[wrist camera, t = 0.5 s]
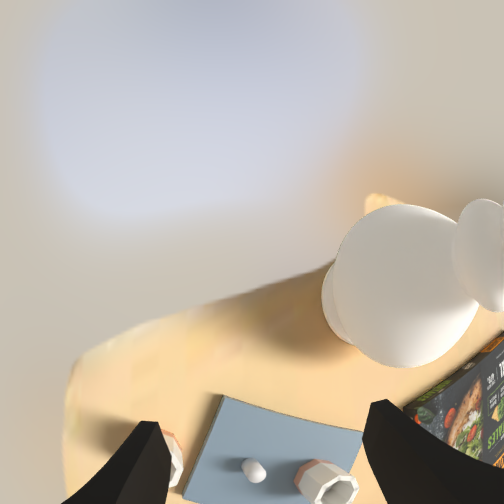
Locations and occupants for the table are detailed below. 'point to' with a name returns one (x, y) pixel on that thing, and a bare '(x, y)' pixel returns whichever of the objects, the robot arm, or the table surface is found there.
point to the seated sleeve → (325, 483)
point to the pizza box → (468, 407)
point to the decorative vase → (415, 280)
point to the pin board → (263, 455)
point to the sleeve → (174, 457)
